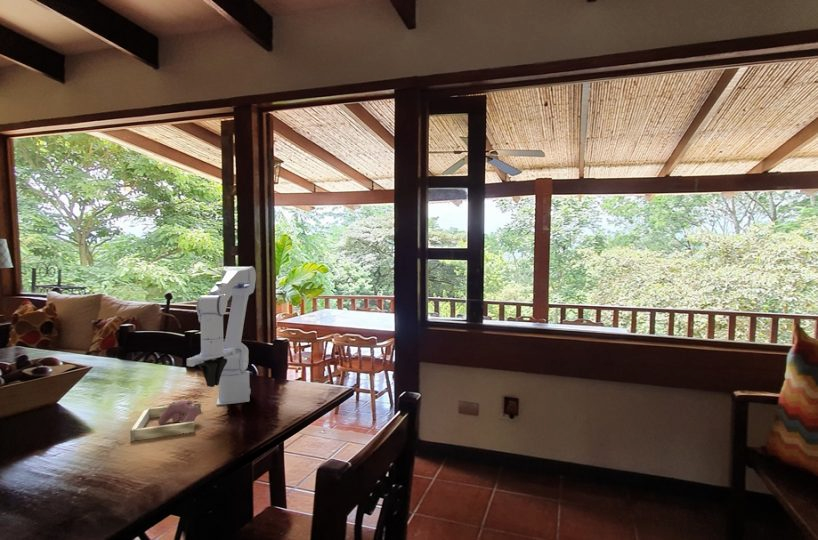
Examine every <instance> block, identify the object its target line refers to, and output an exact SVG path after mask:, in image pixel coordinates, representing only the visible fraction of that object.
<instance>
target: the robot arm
mask: <svg viewBox="0 0 818 540" xmlns="http://www.w3.org/2000/svg"><path fill="white" fill-rule="evenodd" d="M220 277H221V281H216V283H215V284H214V285H213V286H212V287H211V288H210V290H209V291H207V294H205V295H204V294H202V295H201V297H200V296H199V297H198V299H197V301H196V306H195V309H196V313H197V316H198V317H197V318H198V323H200V353H199V354H196V355H194V356H192V357H191V356H190V357H189V358H186V366H187V367H195V366H196V365H197V367H198V368H199V369H200V371H201V372H202V374H203V376H204V379H205V383H206V387H209V388H214V387H215V386H217V387H218V390H217V391H218V394H217V395H218V396H217V400H216V406H224V405H231V404H240V403H241V404H242V403H246V402H247V403H248V402H250V400H251V399H250V395H251V390H252V389H251V387H250V371H249V370H247V369H248V365H249V348H248V347H247V345H245V344H244V343H243V342H242V338H243V337H242V336H243V333H244V331H243V330H244V323H245V318H246V312H247V305H248V301H249V296H250V295H252V294H253V293H254V291H255V288H256V281H257V273H256V269H255V267H254V266H253V265H251V266H227V265H225V266H224V267H223V268H222V270H221V276H220ZM231 297H232V298H231ZM230 298H231V304H230V310H229V315H228V316H229V317H228V320H227V321H228V322H227V328H226V333H225V338H224V315H225V314H226V311H227V307H228V302H229V299H230ZM224 339H225V340H224Z"/></svg>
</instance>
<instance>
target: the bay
mask: <svg viewBox="0 0 818 540" xmlns="http://www.w3.org/2000/svg"><path fill="white" fill-rule="evenodd" d="M193 403H194V404H195V405H196V406H198V407H199V409H200V411H199V413H200V412H201V411H202V406H201V405H202V403H201V401H199V402H193ZM168 407H169V405H164V406H157V407H156V406H155V407H146V408H145V409H144V410H143V412H142V413H141V415H140V416H139V417H138V419H137V420H136V422H135V423H134V424H133V426H132V428H131V429H130V431H129V433H130V435H129V439H130V442H132V441H139V440H140V441H141V440H146V439H147V440H148V439H156V438H162V437H169V436H175V435H177V436H178V435H182V434H183V433H184V434H189V433H190V432H191V433H195V420H194V421H192V422H184V423H182V422H176V423H170V424H163V425H155V426H149V427H148V426H147V427H145V425H146V424H147V422H148V421H149V419H152V418H160V417H161V415H162V414H163V413H164V412H165V411H166V409H167V408H168ZM183 414H184V415H185V414H186V413H184V412H182V415H183ZM191 433H190V434H191Z"/></svg>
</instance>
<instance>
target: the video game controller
mask: <svg viewBox="0 0 818 540" xmlns="http://www.w3.org/2000/svg"><path fill="white" fill-rule="evenodd" d="M194 403H195V402H192V401H187V400H180V401H173V402H171V404H169V405H168V406H169V407H168V408H167V409H166V411H165V412H164V413H163V414H162V415H161V417H158V426H162V425H166V423H168V421H169V420H170V419H172V421H173V422H175V423H184V422H192V421H194V422H195V420H196V418H197V417H198V415H199V414H200V412H201V411H200V409H199V407H198V406H196V405H195V404H194ZM199 411H200V412H199ZM182 412H184V413H185V414H184V415H183V414H182Z"/></svg>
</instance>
